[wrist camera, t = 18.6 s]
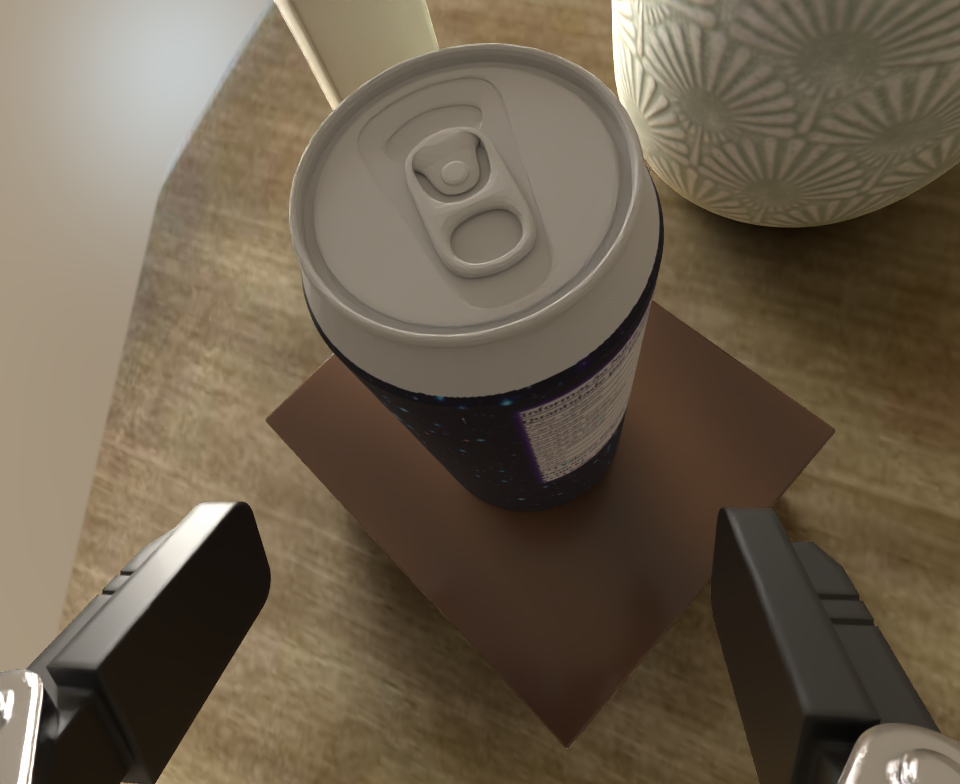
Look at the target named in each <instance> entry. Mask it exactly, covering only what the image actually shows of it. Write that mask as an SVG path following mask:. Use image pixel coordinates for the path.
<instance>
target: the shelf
mask: <svg viewBox="0 0 960 784" xmlns="http://www.w3.org/2000/svg"><path fill="white" fill-rule="evenodd" d="M266 422H267V423H268V425H269V426H270V427H271V428H272V429H273V430H274V431H275V432H276V433H277V434H278V435H279V437H280V438H281V439H282V440H283V441H284V442H285V443H286V444H287V445H288V446H289V447H290V449H291V450H292V451H293V452H294V453H295V454H296V455H297V456H298V457H299V458H300V459H301V461H302V462H303V463H304V464H305V465H306V466H307V467H308V468H309V469H310V470H311V471H312V473H313V474H314V475H315V476H316V477H317V478H318V479H319V480H320V481H321V482H322V483H323V484H324V486H325V487H326V488H327V489H328V490H329V491H330V492H331V493H332V494H333V495H334V496H335V498H336V499H337V500H338V501H339V502H340V503H341V504H342V505H343V506H344V507H345V508H346V510H347V511H348V512H349V513H350V514H351V515H352V516H353V517H354V518H355V519H356V520H357V522H358V523H359V524H360V525H361V526H362V527H363V528H364V529H365V530H366V531H367V532H368V534H369V535H370V536H371V537H372V538H373V539H374V540H375V541H376V542H377V543H378V544H379V546H380V547H381V548H382V549H383V550H384V551H385V552H386V553H387V554H388V555H389V556H390V558H391V559H392V560H393V561H394V562H395V563H396V564H397V565H398V566H399V567H400V568H401V570H402V571H403V572H404V573H405V574H406V575H407V576H408V577H409V578H410V579H411V580H412V582H413V583H414V584H415V585H416V586H417V587H418V588H419V589H420V590H421V591H422V592H423V594H424V595H425V596H426V597H427V598H428V599H429V600H430V601H431V602H432V603H433V604H434V606H435V607H436V608H437V609H438V610H439V611H440V612H441V613H442V614H443V615H444V616H445V618H446V619H447V620H448V621H449V622H450V623H451V624H452V625H453V626H454V627H455V628H456V630H457V631H458V632H459V633H460V634H461V635H462V636H463V637H464V638H465V639H466V640H467V642H468V643H469V644H470V645H471V646H472V647H473V648H474V649H475V650H476V651H477V652H478V654H479V655H480V656H481V657H482V658H483V659H484V660H485V661H486V662H487V663H488V664H489V666H490V667H491V668H492V669H493V670H494V671H495V672H496V673H497V674H498V675H499V676H500V678H501V679H502V680H503V681H504V682H505V683H506V684H507V685H508V686H509V687H510V688H511V690H512V691H513V692H514V693H515V694H516V695H517V696H518V697H519V698H520V699H521V700H522V702H523V703H524V704H525V705H526V706H527V707H528V708H529V709H530V710H531V711H532V712H533V714H534V715H535V716H536V717H537V718H538V719H539V720H540V721H541V722H542V723H543V724H544V726H545V727H546V728H547V729H548V730H549V731H550V732H551V733H552V734H553V735H554V736H555V738H556V739H557V740H558V741H559V742H560V743H561V744H562V745H563V746H564V747H565V748H569V747H570V746H571V745H572V744H573V743H574V741H575V740H576V739H577V738H578V737H579V735H580V734H581V733H582V732H583V731H584V730H585V728H586V727H587V726H588V725H589V724H590V722H591V721H592V720H593V719H594V718H595V716H596V715H597V714H598V713H599V712H600V711H601V709H602V708H603V707H604V706H605V705H606V703H607V702H608V701H609V700H610V699H611V698H612V696H613V695H614V694H615V693H616V692H617V690H618V689H619V688H620V687H621V686H622V684H623V683H624V682H625V681H626V680H627V679H628V677H629V676H630V675H631V674H632V673H633V671H634V670H635V669H636V668H637V667H638V666H639V664H640V663H641V662H642V661H643V660H644V658H645V657H646V656H647V655H648V654H649V652H650V651H651V650H652V649H653V648H654V647H655V645H656V644H657V643H658V642H659V641H660V639H661V638H662V637H663V636H664V635H665V634H666V632H667V631H668V630H669V629H670V628H671V626H672V625H673V624H674V623H675V622H676V620H677V619H678V618H679V617H680V616H681V615H682V613H683V612H684V611H685V610H686V609H687V607H688V606H689V605H690V604H691V603H692V602H693V600H694V599H695V598H696V597H697V596H698V594H699V593H700V592H701V591H702V590H703V588H704V587H705V586H706V585H707V584H708V583H709V581H710V580H711V576H712V566H713V556H714V546H715V536H716V526H717V517H718V512H719V510H720V508H722V507H729V508H772V507H773V506H774V504H775V503H776V502H777V501H778V500H779V498H780V497H781V496H782V495H783V494H784V492H785V491H786V490H787V489H788V488H789V487H790V485H791V484H792V483H793V482H794V481H795V479H796V478H797V477H798V476H799V475H800V474H801V472H802V471H803V470H804V469H805V468H806V466H807V465H808V464H809V463H810V462H811V460H812V459H813V458H814V457H815V456H816V455H817V453H818V452H819V451H820V450H821V449H822V447H823V446H824V445H825V444H826V443H827V442H828V440H829V439H830V438H831V437H832V436H833V434H834V433H835V429H834V428H833V427H831V426H830V425H828V424H827V423H826V422H824V421H823V420H821V419H820V418H818V417H817V416H816V415H814V414H813V413H811V412H810V411H808V410H807V409H806V408H804V407H803V406H801V405H800V404H799V403H797V402H796V401H794V400H793V399H791V398H790V397H789V396H787V395H786V394H784V393H783V392H782V391H780V390H779V389H777V388H776V387H774V386H773V385H772V384H770V383H769V382H767V381H766V380H764V379H763V378H762V377H760V376H759V375H757V374H756V373H755V372H753V371H752V370H750V369H749V368H747V367H746V366H745V365H743V364H742V363H740V362H739V361H737V360H736V359H735V358H733V357H732V356H730V355H729V354H728V353H726V352H725V351H723V350H722V349H720V348H719V347H718V346H716V345H715V344H713V343H712V342H710V341H709V340H708V339H706V338H705V337H703V336H702V335H701V334H699V333H698V332H696V331H695V330H693V329H692V328H691V327H689V326H688V325H686V324H685V323H684V322H682V321H681V320H679V319H678V318H676V317H675V316H674V315H672V314H671V313H669V312H668V311H666V310H665V309H664V308H662V307H661V306H659V305H658V304H657V303H655V302H654V301H652V302H651V306H650V311H649V315H648V319H647V324H646V328H645V332H644V337H643V341H642V345H641V349H640V354H639V358H638V362H637V367H636V371H635V375H634V380H633V384H632V388H631V393H630V397H629V401H628V406H627V410H626V414H625V419H624V423H623V427H622V431H621V436H620V440H619V444H618V447H617V451H616V453H615V455H614V458H613V460H612V462H611V464H610V465H609V467H608V469H607V470H606V472H605V473H604V474H603V476H602V477H601V478H600V479H599V480H598V482H597V483H596V484H595V485H593V486H592V487H591V488H590V489H589V490H588V491H587V492H585V493H584V494H582V495H581V496H580V497H578V498H576V499H574V500H573V501H571V502H569V503H567V504H564V505H562V506H559V507H556V508H552V509H548V510H543V511H535V512H520V511H512V510H506V509H502V508H499V507H496V506H493V505H491V504H488V503H486V502H484V501H482V500H481V499H479V498H477V497H476V496H474V495H473V494H471V493H470V492H469V491H468V490H466V489H465V488H464V487H463V486H462V485H461V484H460V483H459V482H458V481H457V480H456V479H455V478H454V477H453V476H452V475H451V474H450V473H449V472H448V471H447V470H446V469H445V467H444V466H443V465H442V464H441V463H440V462H439V461H438V460H437V459H436V458H435V457H434V456H433V455H432V454H431V453H430V452H429V451H428V450H427V449H426V448H425V447H424V446H423V445H422V444H421V443H420V442H419V441H418V440H417V439H416V438H415V437H414V436H413V435H412V434H411V432H410V431H409V430H408V429H407V428H406V427H405V426H404V425H403V424H402V423H401V422H400V421H399V420H398V419H397V418H396V417H395V416H394V415H393V414H392V413H391V412H390V411H389V410H388V409H387V408H386V407H385V406H384V405H383V404H382V403H381V402H380V401H379V400H378V399H377V397H376V396H375V395H374V394H373V393H372V392H371V391H370V390H369V389H368V388H367V387H366V386H365V385H364V384H363V383H362V382H361V381H360V380H359V379H358V378H357V377H356V376H355V375H354V374H353V373H352V372H351V371H350V370H349V369H348V368H347V367H346V366H345V365H344V364H343V362H342V361H341V360H340V359H339V358H338V357H337V356H336V355H335V354H334V353H333V354H332V355H331V356H330V357H329V358H328V359H327V360H326V361H325V362H324V363H323V364H322V365H321V366H320V367H319V368H318V369H317V370H316V371H315V372H314V373H313V374H312V375H311V376H310V377H309V378H308V379H307V380H306V381H304V382H303V383H302V384H301V385H300V386H299V387H298V388H297V389H296V390H295V391H294V392H293V393H292V394H291V395H290V396H289V397H288V398H287V399H286V400H285V401H284V402H283V403H282V404H281V405H280V406H279V407H278V408H277V409H276V410H275V411H273V412H272V413H271V414H270V415H269V416H268V417H267V418H266Z"/></svg>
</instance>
